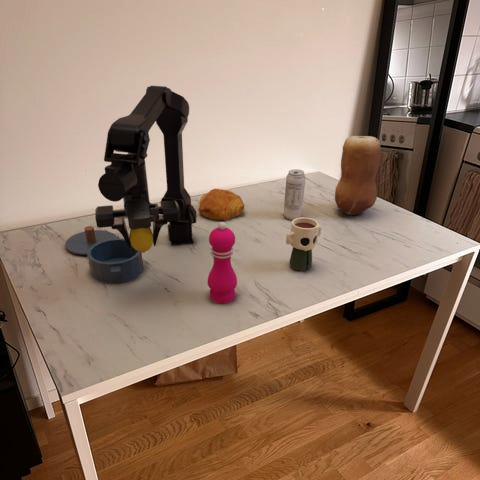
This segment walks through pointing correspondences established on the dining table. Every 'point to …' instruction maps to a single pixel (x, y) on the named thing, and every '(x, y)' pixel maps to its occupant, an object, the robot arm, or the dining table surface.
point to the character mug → (303, 241)
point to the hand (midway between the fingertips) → (142, 246)
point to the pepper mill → (222, 265)
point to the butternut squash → (358, 174)
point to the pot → (114, 261)
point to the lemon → (141, 239)
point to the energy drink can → (294, 194)
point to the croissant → (220, 205)
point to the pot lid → (86, 240)
